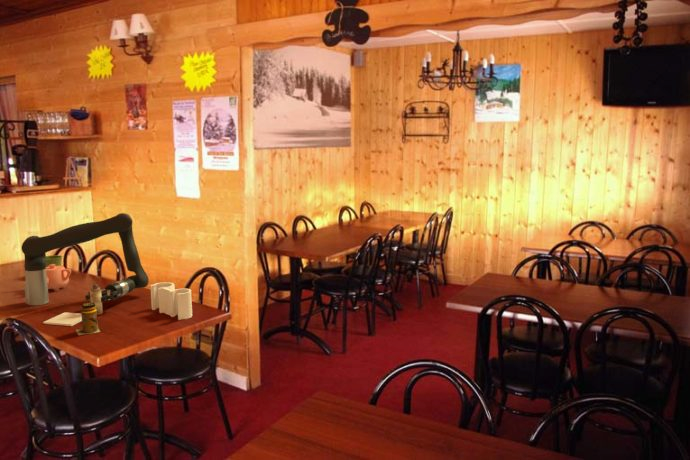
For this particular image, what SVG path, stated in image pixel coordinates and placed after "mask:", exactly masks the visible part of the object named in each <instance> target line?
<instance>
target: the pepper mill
mask: <svg viewBox="0 0 690 460" xmlns="http://www.w3.org/2000/svg"><path fill="white" fill-rule="evenodd" d="M101 290H102V289H101V287H100V286H99V285H98V284H97V283H94V284H93V285H92V287H91V288H90V291H89V292H90V299H89V300H90V303H95V307H96V308H95V309H96V310H97V316H98V315H99V316H100V315H102V314H103V313H104V312H103V311H104V310H103V302H101V297H102V294H101Z"/></svg>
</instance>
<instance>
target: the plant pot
mask: <svg viewBox="0 0 690 460" xmlns="http://www.w3.org/2000/svg"><path fill="white" fill-rule="evenodd" d="M62 258H63V255H58V254H57V255H55V254H54V255H46V267H48V266H49V265H51V264H55V266H62V260H63V259H62Z"/></svg>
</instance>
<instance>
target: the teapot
mask: <svg viewBox="0 0 690 460" xmlns="http://www.w3.org/2000/svg"><path fill="white" fill-rule="evenodd" d="M46 273H47V284H48V290H53V291H54V292H59V291H61V289H65V288H67V285H68V284H69V280H70V278H69V277H70V276H71V274H72V269H70V268H65V266H64V265H63V266H62V265H61V266H55V264H51V265H49V266H48V267H46Z"/></svg>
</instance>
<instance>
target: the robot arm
mask: <svg viewBox="0 0 690 460" xmlns="http://www.w3.org/2000/svg"><path fill="white" fill-rule="evenodd" d="M111 234H118V235H119V238H120V241H121V246H122V252H123V258H124V260H125V261H124V262H125V266H126V268H127V271H128V272H132V273H134V274H133V275H130V276H128V277H126V278H125V279H121V280H118V281H115V282H112V283H109V284H107V285H106V286H105V288H104V289H103V288H102V289H100V290H101V294H102V297H101V302H102V303H103V302H106V301H110V300H111V301H115V300H117V299H119V298H121V297H124V296H125V295H127V294H129V293H131V292H132V291H134V290H136V289H143V288H146V287H148V285H149V283H150V282H149V276H148V274H147V272H146V271H145V269H144V267H143V265H142V262H141V259H140V254H139V252H138V248H137V245H136V243H135V238H134V233H133V219H132V217H131V216H130V215H129V214H128V213H126V212H122V213H118V214H116V215H115V216H111V217H108V218H106V219H104V220H100V221H91V222H85V223H79V224H77V225H73V226H70V227H67V228H64V229H62V230H59V231H58V232H57V231H56V232H55V233H52V234H49V235H44V236H39V235H31V236H28V237H27V238H26V239H25V240H24V241H23V242H22V244H21V251H22V253H23V255H24V265H23V267H24V275H25V278H24V279H25V284H24V287H23V288H24V296H25V297H24V298H25V304H26V305H28V306H42V305H46V304H48V303H50V300H49V289H48V284H47V273H46V256H47V255H46V253H49V252H52V251H53V250H58V249H62V248H63V249H64V248H67V247H71V246H77V245H81V244H84V243H87V242H90V241H93V240H96V239H99V238H100V237H103V236H106V235H111ZM84 297H85V299H84V300H85V301H88V300H91V299H90V291H88V293H87V294H86V295H85V296H84Z"/></svg>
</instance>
